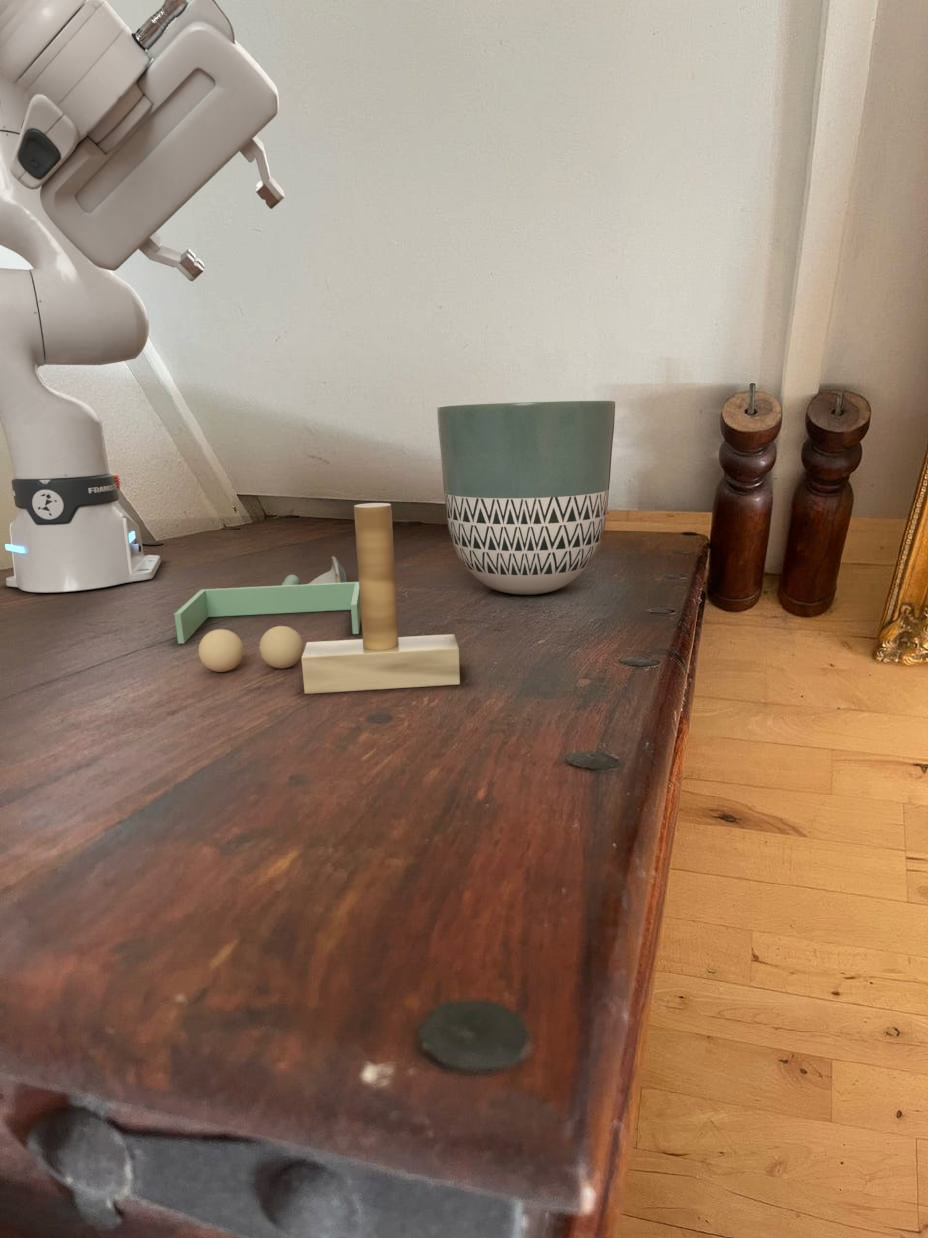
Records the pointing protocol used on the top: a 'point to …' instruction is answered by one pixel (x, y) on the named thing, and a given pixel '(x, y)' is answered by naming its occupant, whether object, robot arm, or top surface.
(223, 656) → the cork ball
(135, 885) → the top surface
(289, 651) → the cork ball
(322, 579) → the ceramic fragment
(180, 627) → the dustpan
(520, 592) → the planter
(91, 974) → the top surface
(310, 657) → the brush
